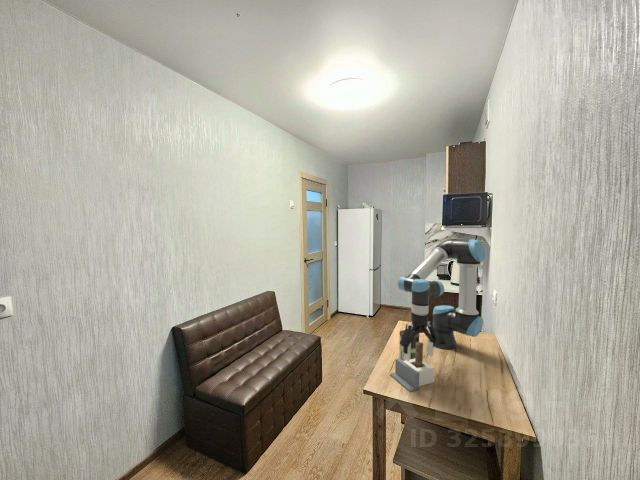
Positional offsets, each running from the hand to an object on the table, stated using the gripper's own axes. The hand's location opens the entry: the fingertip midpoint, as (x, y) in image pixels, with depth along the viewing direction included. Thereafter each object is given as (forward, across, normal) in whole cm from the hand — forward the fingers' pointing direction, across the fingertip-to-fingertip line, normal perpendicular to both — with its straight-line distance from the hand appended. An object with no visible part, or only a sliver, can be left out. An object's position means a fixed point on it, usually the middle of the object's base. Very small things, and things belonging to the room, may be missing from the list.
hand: (418, 357), depth 127 cm
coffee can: (+10, -9, -17) cm, 22 cm away
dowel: (+9, 0, 0) cm, 9 cm away
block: (+10, 0, 0) cm, 10 cm away
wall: (+10, +8, 0) cm, 13 cm away
